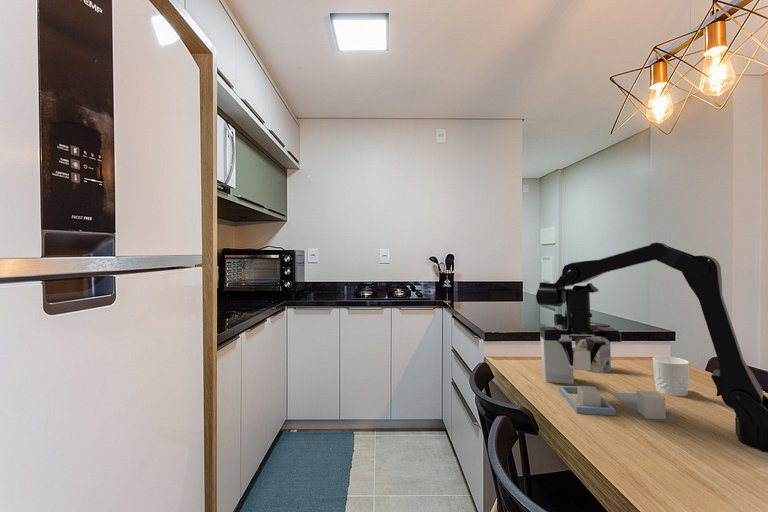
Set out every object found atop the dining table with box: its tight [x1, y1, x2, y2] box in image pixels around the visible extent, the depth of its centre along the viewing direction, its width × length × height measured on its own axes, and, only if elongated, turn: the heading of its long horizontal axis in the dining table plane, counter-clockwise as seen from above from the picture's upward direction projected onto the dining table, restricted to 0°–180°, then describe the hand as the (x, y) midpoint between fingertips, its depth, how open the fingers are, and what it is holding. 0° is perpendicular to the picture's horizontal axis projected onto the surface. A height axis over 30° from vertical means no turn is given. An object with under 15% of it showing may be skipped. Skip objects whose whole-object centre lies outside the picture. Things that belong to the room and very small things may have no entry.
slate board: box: [608, 391, 676, 423], centre depth 88 cm, size 17×7×1 cm, turn 169°
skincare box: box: [539, 336, 575, 385], centre depth 108 cm, size 8×7×16 cm
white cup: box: [652, 355, 690, 397], centre depth 97 cm, size 8×8×10 cm
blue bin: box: [558, 385, 616, 416], centre depth 91 cm, size 15×9×3 cm, turn 169°
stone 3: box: [636, 390, 667, 419], centre depth 83 cm, size 4×4×5 cm
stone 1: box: [569, 346, 591, 371], centre depth 94 cm, size 4×4×5 cm
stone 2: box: [576, 385, 602, 407], centre depth 88 cm, size 4×4×5 cm
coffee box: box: [574, 321, 612, 374], centre depth 121 cm, size 9×6×16 cm
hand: (579, 365), depth 94 cm, fingers closed on stone 1, 4 cm apart
